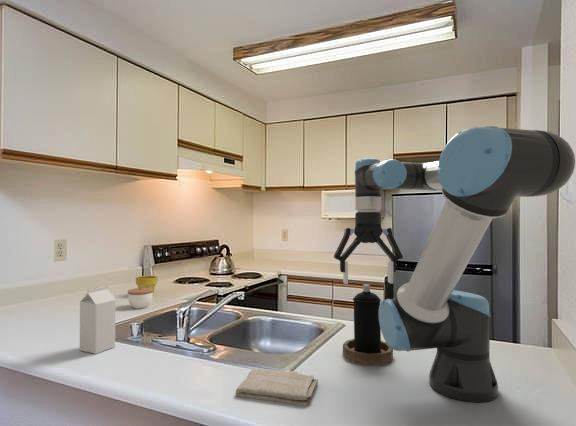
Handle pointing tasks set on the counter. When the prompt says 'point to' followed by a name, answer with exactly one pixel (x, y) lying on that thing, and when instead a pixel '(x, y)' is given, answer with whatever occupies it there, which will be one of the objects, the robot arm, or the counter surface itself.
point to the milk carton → (97, 321)
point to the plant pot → (147, 282)
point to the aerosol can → (367, 322)
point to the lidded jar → (140, 297)
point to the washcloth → (278, 386)
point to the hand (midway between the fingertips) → (368, 283)
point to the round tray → (367, 354)
